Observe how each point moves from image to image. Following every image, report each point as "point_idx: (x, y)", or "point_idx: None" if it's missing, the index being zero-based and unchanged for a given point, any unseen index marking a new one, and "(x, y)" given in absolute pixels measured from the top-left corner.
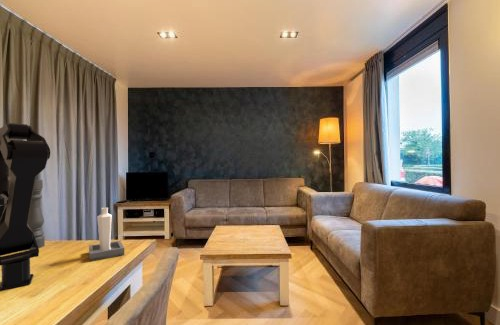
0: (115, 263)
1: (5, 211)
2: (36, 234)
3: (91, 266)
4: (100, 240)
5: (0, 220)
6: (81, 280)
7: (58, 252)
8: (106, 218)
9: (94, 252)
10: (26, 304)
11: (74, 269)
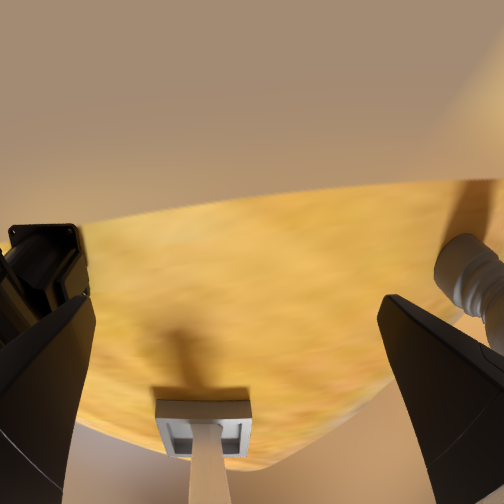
0: (114, 424)
1: (423, 410)
2: (467, 303)
3: (112, 396)
4: (202, 453)
5: (395, 321)
6: None
7: (323, 338)
8: None
9: (162, 424)
10: None
11: (104, 372)
